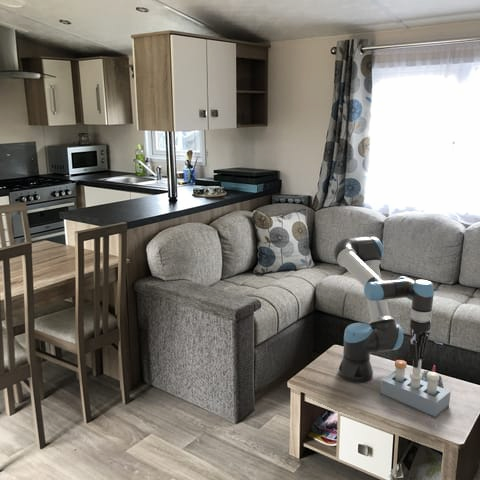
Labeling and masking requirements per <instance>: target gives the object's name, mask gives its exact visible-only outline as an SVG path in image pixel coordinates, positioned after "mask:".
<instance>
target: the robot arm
mask: <svg viewBox="0 0 480 480" xmlns="http://www.w3.org/2000/svg"><path fill="white" fill-rule="evenodd" d="M384 253H385V251H384V246H383V242H381V240H380V239H379V238H378V237H376V236H360V237H359V236H357V237H346V238H342V239H341V240H339V241H338V242H337V243H336V244H335V246H334V250H333V257H334V260H335V262H336V263H337V264H338V265H339V266H340V267H342V268H345V269H346V270H347V271H348V273H350V274H351V275H352V276H353V277H354V278H355V280H356V281H358V282H359V283H360V284H361V285H362V286H363V292H364V295H365V298H366V301H367V307H368V310H369V316H370V321H369V322H368V323H367V322H366V323H365V322H354V323H351V324H348V325H347V326H346V327H345V330H344V335H343V352H342V353H343V356H342V359H341V362H340V365H339V367H338V376H339V377H340V378H342V379H343V380H344V381H347V382H351V383H356V384H360V383H361V384H363V383H368V382H370V381H371V380H372V379H373V376H374V370H373V369H372V368H373V367H372V364H371V354H374V353H382V352H383V353H384V352H391V351H396V350H399V349H400V348H401V347H402V345H403V342H404V331H403V327H401V324H399V323H396V320H395V318H393V316H391V314H390V310H389V306H388V305H389V304H388V301H387V300H395V299H404V298H405V299H408V300H410V301H411V309H410V310H411V312H410V317H411V318H410V328H411V330H412V335H411V336H412V337H411V338H409V339H408V344H409V354H410V359H411V360H412V361H413V362H412V371H413V372H412V371H411V372H412V373H413V374H416V375H420V373H421V372H422V370H421V369H422V362H423V360H425V355H426V350H427V345H428V342H429V337H430V334H431V332H430V330H431V326H432V325H431V323H432V321H431V320H432V317H433V313H432V311H433V302H434V294H435V291H434V283H433V282H431V281H429V280H426V279H417V280H414V279H413V278H411V277H409V276H404V275H402V276H399V277H397V278H395V279H391V280H384V279H383V278H382V275H381V271H380V270H381V269H380V265H381V264H382V261H381V260H382V259H383V258H384V256H385V254H384ZM421 374H422V373H421Z"/></svg>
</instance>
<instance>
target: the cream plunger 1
mask: <svg viewBox="0 0 480 480" xmlns="http://www.w3.org/2000/svg"><path fill="white" fill-rule="evenodd" d="M412 372H413V370H412V371H410V373H409V375H410V378H411V385H410V387H412V388H414V389H417V390H419V389H420V380H421V379H422V373H420V375H416V374H413V373H412Z"/></svg>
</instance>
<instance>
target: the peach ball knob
mask: <svg viewBox="0 0 480 480" xmlns="http://www.w3.org/2000/svg"><path fill="white" fill-rule="evenodd" d="M407 365H408V364H407V361H405V360H403V359H402V360H401V359H397V360H395V361H394V367H395V371H396V373H395V381H397V382H400V383H403V382H404V375H405V374H406V373H405V372H406V369H407Z"/></svg>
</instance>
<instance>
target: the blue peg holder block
mask: <svg viewBox="0 0 480 480" xmlns="http://www.w3.org/2000/svg"><path fill="white" fill-rule="evenodd" d="M395 373H396V370H394V371H392V372H391V373H389V374H388V375H386V376H385V377H383V378H381V381H380V392H379V393H380V394H379V395H380V396H382V397H384V398H387V399H389V400H391V401H393V402H395V403H398V404H400V405H403V406H404V407H407V408H409V409H411V410H414V411H417V412H418V413H421V414H423V415H425V416H428V417H430V418H432V419H434V420H436V419H437V418H438V417H439V416H441V415H442V413H444V412H445V411H446V410H447V409H448V408H449V407H450V399H451V390H449V389H447V388H441V387H438V386H437V392H436V396H435V397H434V396H432V395H429V394H427V383H428V382H426V381H423V380H420V389H419V390H417V389H414V388H412V387H410V385H411V378H410V374H407V373H405V375H404V382H403V383H400V382H397V381H395Z"/></svg>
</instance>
